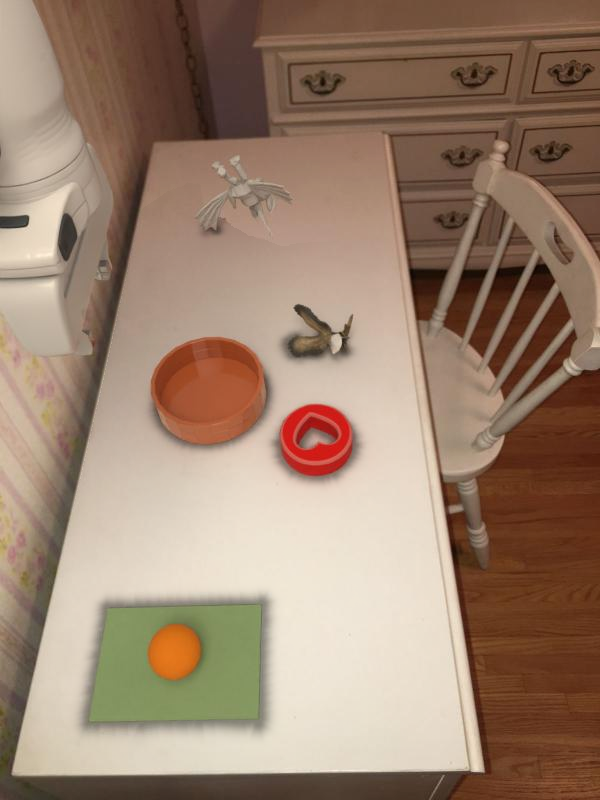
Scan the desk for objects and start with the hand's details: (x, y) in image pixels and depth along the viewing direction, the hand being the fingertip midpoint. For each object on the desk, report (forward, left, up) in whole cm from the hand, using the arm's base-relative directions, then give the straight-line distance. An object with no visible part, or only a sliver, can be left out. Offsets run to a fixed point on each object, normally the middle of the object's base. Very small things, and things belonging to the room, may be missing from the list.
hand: (94, 310), depth 60 cm
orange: (-12, -21, -31) cm, 39 cm away
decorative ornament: (+18, -10, -32) cm, 38 cm away
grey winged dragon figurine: (+40, +33, -32) cm, 61 cm away
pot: (+12, +6, -31) cm, 34 cm away
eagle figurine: (+30, +3, -32) cm, 44 cm away
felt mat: (-12, -21, -31) cm, 39 cm away
